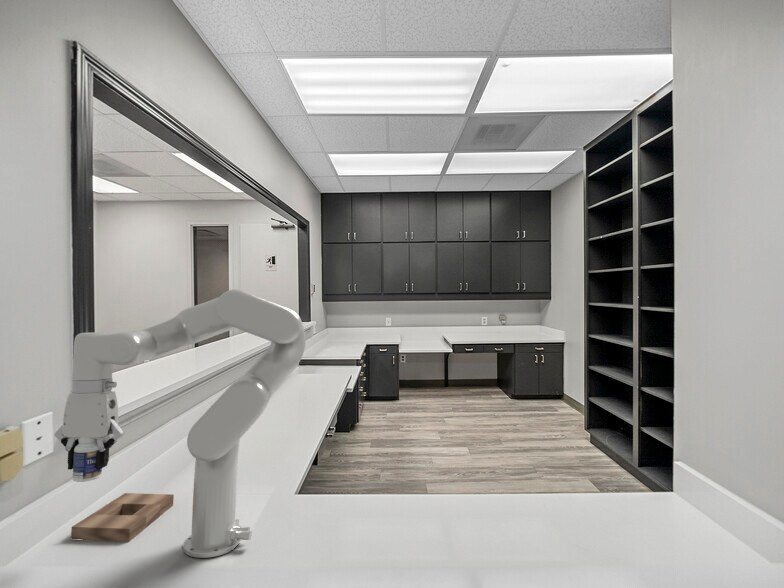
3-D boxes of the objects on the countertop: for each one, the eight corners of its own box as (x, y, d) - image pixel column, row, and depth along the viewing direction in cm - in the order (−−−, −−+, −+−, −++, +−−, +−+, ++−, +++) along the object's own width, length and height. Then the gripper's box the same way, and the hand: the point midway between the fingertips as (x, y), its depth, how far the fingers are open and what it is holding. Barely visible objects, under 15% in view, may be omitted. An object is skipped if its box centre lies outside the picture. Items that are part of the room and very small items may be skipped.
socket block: (173, 505, 122) (173, 494, 122) (129, 541, 102) (129, 528, 102) (124, 503, 122) (124, 493, 122) (70, 539, 102) (71, 526, 102)
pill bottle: (87, 483, 94) (89, 438, 94) (66, 481, 95) (68, 436, 95) (107, 474, 99) (109, 432, 100) (87, 473, 100) (89, 430, 101)
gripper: (139, 384, 102) (135, 462, 101) (66, 383, 102) (62, 461, 101) (119, 389, 95) (115, 474, 94) (41, 388, 94) (36, 473, 93)
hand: (87, 466), depth 97 cm, fingers closed on pill bottle, 5 cm apart
